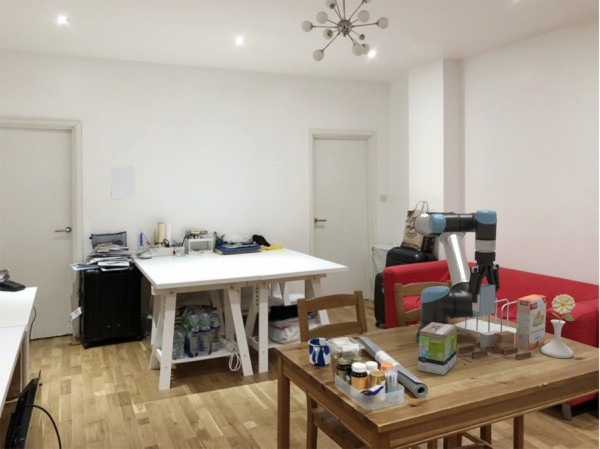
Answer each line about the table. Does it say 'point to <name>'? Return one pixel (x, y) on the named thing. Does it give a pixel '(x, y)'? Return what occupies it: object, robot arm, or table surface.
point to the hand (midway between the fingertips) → (483, 309)
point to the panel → (486, 300)
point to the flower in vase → (556, 345)
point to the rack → (507, 353)
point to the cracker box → (530, 321)
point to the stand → (471, 353)
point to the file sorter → (484, 326)
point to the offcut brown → (503, 341)
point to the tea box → (437, 348)
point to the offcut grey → (487, 339)
